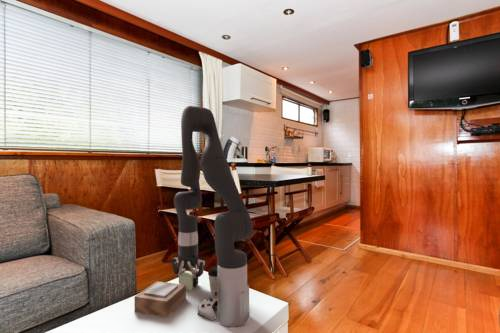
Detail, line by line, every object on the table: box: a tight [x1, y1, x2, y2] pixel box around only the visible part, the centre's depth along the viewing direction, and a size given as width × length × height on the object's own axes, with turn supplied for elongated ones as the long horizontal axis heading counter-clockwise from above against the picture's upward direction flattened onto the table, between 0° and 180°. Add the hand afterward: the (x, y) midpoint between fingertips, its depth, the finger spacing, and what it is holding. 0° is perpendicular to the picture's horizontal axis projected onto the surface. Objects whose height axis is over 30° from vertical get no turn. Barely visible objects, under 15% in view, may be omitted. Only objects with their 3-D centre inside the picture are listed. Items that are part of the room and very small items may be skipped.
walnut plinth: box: [134, 280, 187, 318], centre depth 93 cm, size 12×12×6 cm
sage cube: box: [180, 270, 195, 291], centre depth 107 cm, size 5×5×5 cm
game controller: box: [197, 297, 218, 321], centre depth 89 cm, size 10×5×6 cm
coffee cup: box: [207, 265, 217, 299], centre depth 99 cm, size 7×7×10 cm
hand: (188, 285), depth 107 cm, fingers closed on sage cube, 5 cm apart
